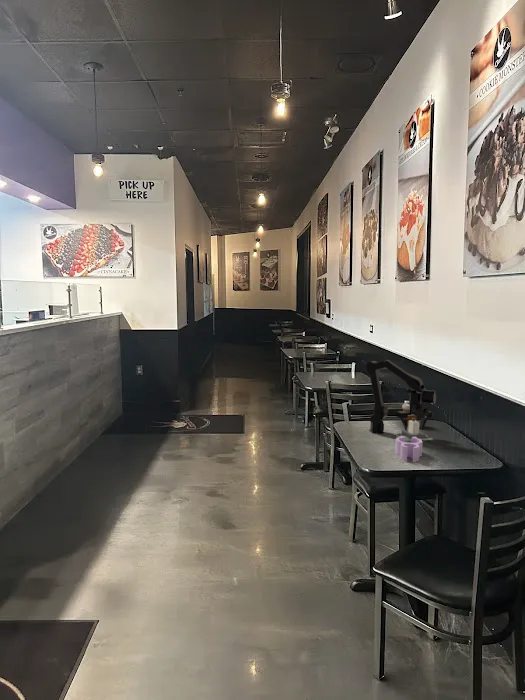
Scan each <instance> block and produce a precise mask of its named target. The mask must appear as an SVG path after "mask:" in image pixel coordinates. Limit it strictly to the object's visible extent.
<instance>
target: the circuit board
mask: <svg viewBox="0 0 525 700" xmlns="http://www.w3.org/2000/svg"><path fill="white" fill-rule="evenodd" d="M401 433H402V432H401ZM401 433H400V432H398V433H394V436H395V435H396V436H395V437H396V438H398V437H400V436H404V435H403V434H401ZM404 437H405V442H412V441H411V440H412V439H409V438H407V437H406V436H404ZM421 440H423V441H433V440H434V438H433V437H431V436H430V435H427V434H426V438H422V439H421Z"/></svg>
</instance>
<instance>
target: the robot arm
mask: <svg viewBox="0 0 525 700" xmlns="http://www.w3.org/2000/svg"><path fill="white" fill-rule="evenodd" d="M381 369H387V371H388V370H389V371H390V372H391V373H393V374H395V375H396V376H397V377H399V379H401V380H403V381H404V382H405V384H406V386H408V387H409V388H408V390H406V391H405V392H406V393H408V394H409V402H408V404H409V410H408V412H409V413H406V412H404V411H403V410H401V411H400V410H397V411H396V412H395V413H396V414H395V417H397V418H398V419H400V421H401V423H402V426H403V428H404V430H406V431H407V430H408V426H407V420H408V419H407V417H408V416H416V417H417V418H416V419H420V430H421V431H423V430H424V428H425V425H426V423H427V421H428V420H431V418H433V417H434V413H433V412H432V411H431V410H430V409H429V408H428V407H426V408H423V404H422V402H423V403H425V404H434V405H435V404H436V402H437V401H436V400H437V394H436V390H428V389H427V388H426V387H425V385H424V382H423V379H422V378H421V377H419V376H416V375H413V374H411V373H408V372H407V371H406V370H404V369H403V368H401V367H400V366H398V365H397V364H395V363H393V362H392V361H391V360H389V359H386V360H382V361H376V360H372V361H370V362H367V363H366V365H365V370H366V373H367V375H368V376H369V379H370V383H371V390H372V395H373V401H374V407H373V415H371V416H370V417H369V422H370V427H369V428H370V429H369V432H371V433H372V434H385V423H384V420H385V418H386V417H387V416H388V413H389V408H388V404H385V403H384V400H383V394H382V389H381V383H380V371H381ZM412 414H413V415H412Z"/></svg>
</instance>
